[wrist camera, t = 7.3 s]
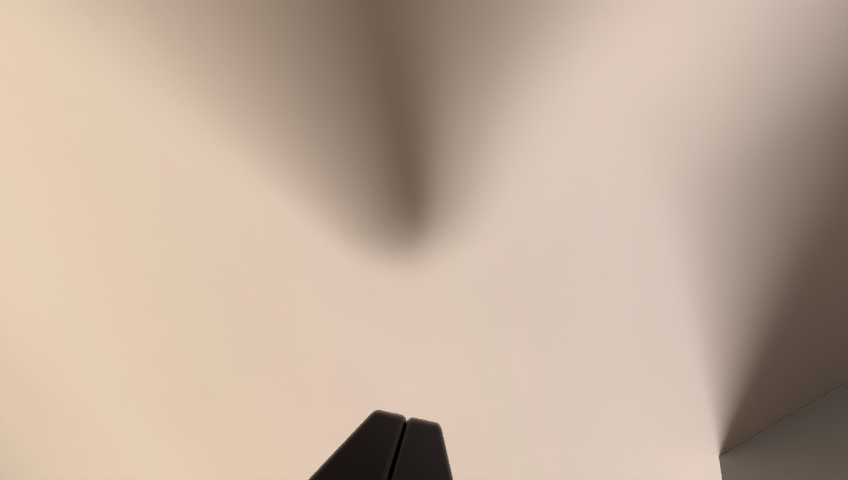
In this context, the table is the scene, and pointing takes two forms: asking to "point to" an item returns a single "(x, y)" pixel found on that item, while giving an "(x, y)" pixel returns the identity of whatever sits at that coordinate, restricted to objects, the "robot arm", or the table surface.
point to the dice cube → (797, 445)
